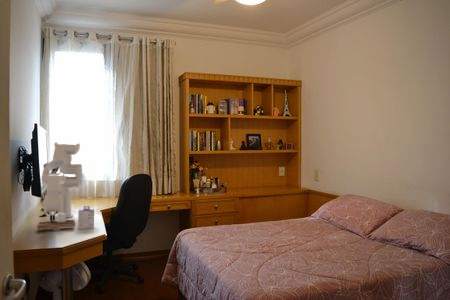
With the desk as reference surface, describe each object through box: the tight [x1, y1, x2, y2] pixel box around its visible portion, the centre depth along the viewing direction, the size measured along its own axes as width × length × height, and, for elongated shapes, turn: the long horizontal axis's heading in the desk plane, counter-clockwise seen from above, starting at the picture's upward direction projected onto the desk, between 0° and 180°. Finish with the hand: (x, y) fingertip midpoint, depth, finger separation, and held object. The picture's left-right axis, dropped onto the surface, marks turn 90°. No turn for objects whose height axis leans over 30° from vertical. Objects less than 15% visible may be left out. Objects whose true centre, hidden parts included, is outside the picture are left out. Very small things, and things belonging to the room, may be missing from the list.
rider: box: [56, 213, 67, 223], centre depth 224 cm, size 4×5×6 cm
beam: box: [36, 219, 76, 232], centre depth 223 cm, size 9×22×5 cm, turn 117°
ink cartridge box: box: [77, 205, 95, 230], centre depth 229 cm, size 10×6×14 cm, turn 109°
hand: (52, 221), depth 222 cm, fingers closed
